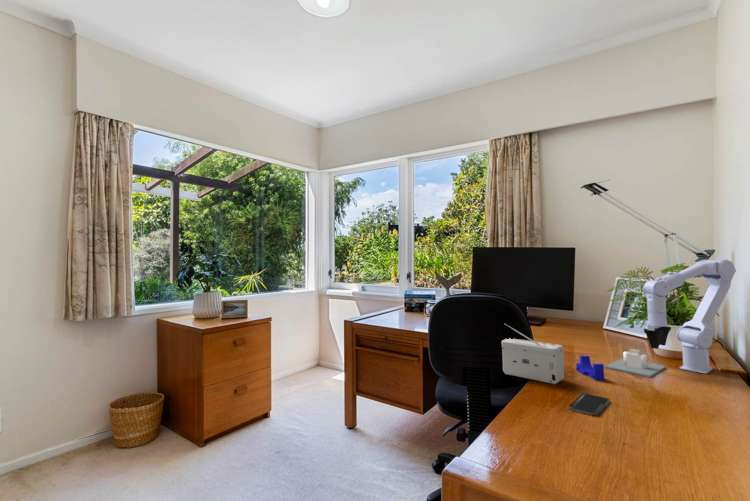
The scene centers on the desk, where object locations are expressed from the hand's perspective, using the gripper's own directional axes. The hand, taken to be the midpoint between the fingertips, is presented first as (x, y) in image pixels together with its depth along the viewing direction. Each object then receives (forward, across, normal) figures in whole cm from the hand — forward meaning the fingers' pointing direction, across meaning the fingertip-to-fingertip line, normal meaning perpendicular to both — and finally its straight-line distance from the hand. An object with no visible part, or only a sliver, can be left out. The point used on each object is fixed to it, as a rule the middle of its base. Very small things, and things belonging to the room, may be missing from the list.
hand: (658, 346), depth 139 cm
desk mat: (+9, +3, -7) cm, 12 cm away
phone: (+10, +53, -2) cm, 54 cm away
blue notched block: (+10, +24, -14) cm, 30 cm away
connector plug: (+9, +3, -7) cm, 11 cm away
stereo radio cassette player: (+10, +43, -27) cm, 52 cm away
